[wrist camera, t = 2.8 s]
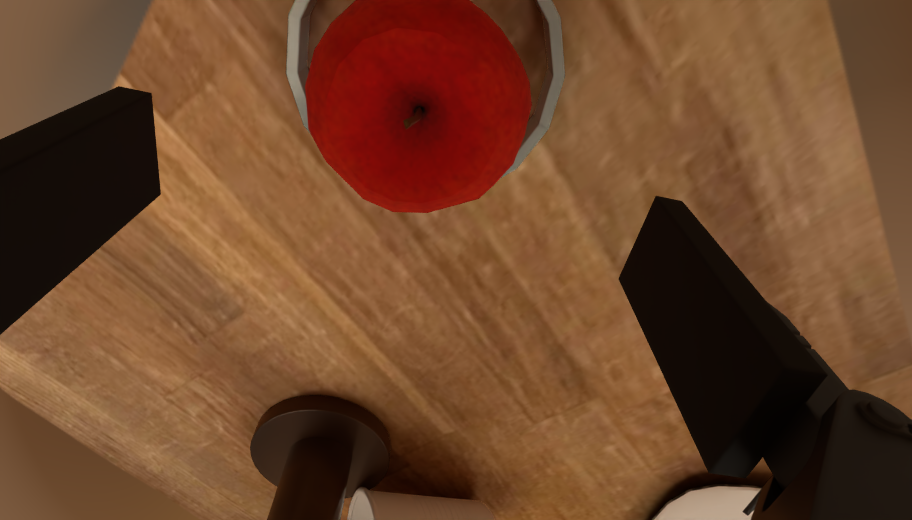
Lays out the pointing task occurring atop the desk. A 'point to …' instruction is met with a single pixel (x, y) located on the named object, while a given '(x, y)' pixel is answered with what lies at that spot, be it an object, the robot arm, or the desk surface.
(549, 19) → the grey faceted ring
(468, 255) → the desk surface
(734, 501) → the plate
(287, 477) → the holder
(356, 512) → the cup
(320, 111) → the apple
